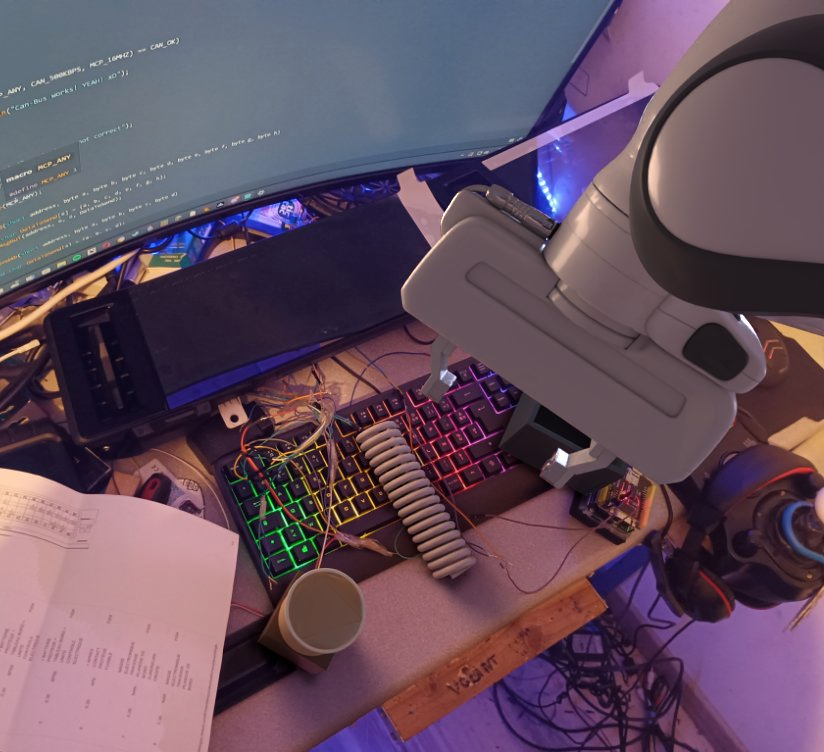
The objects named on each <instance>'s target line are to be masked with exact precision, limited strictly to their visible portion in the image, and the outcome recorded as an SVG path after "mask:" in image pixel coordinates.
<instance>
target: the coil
mask: <svg viewBox="0 0 824 752" xmlns="http://www.w3.org/2000/svg"><path fill="white" fill-rule="evenodd" d="M355 442H356V443H358V444H361V445H360V451H363V452H365V453H364V457H365V459H367V460H369V466H370V467H371V468H375V469H374V470H373V471H374V475H376V476H380V477H379V478H378V482H379V483H380V484H385V485H384V486H383V490H384V492H385V493H389V494H388V499H389V501H394V500H395V501H394V502H393V504H392V506H393V508H394V509H399V510H398V512H397V516H398V517H400V518H404V517H405V518H404V519H403V520H402V524H403V525H404V526H406V527H408V526H409V527H408V528H407V533H408V534H409V535H414V536H413V537H412V542H413V543H415V544H418V545H417V551H418V552H420V553H423V554H422V559H423V561H425V562H428V561H429V562H428V563H427V569H429V570H431V571H433V572H432V577H433V578H434V579H435V580H439V579H442V578H445V577H447V576H449V577H450V578H451V580H454V579H455V578H456V577H458V576H460V575H461V574H463V573H464V572H465V571H467V570H469V569H470V568H471V567H473V566H474V565H475V564H476V563H477V559H476V557H475V556H472V555H471V553H472V552H471V550H472V549H470V548H469V547H465V545H466V540H465V539H464V538H460V537H461V532H460V530H458V529H455V528H456V523H455V522H454V521H453V520H450V519H451V515H450V513H449V512H447V511H446V507H445V505H444V504H443V503H440V501H441V497H440V496H439V495H438V494H437V495H436V494H435V493H436V490H435V488H434V487H433V486H430V485H431V481H430V479H429V478H426V472H425V471H424V470H423V469H421V464H420V462H418V461H416V456H415V454H414V453H411V450H412V448H411V447H410V446H409V445H406V444H407V440H406V438H404V437H402V431H401V430H400V429H398V428H397V423H396V422H395V421H393V420H386V421H383V422H380V423H377V424H374V425H373V426H371V427H368V428H366V429H364V430H363V431H362V432H360V433H358V434H357V436H356V437H355ZM393 457H394V458H393ZM398 465H399V466H398ZM399 475H401V476H399ZM398 476H399V477H398ZM396 477H397V478H396ZM401 485H403V486H401ZM399 486H400V487H399ZM407 493H408V494H407ZM405 494H406V495H405ZM400 497H401V498H400ZM407 504H408V505H407ZM403 506H404V507H403ZM402 507H403V508H402ZM400 508H401V509H400ZM444 511H445V512H444ZM410 525H411V526H410ZM470 555H471V556H470Z"/></svg>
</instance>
